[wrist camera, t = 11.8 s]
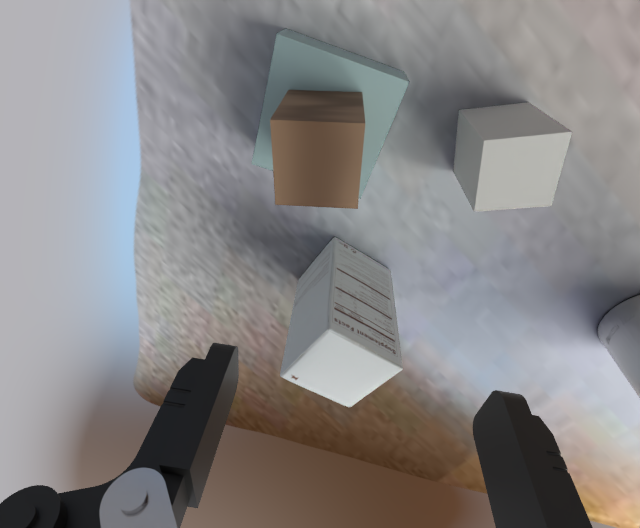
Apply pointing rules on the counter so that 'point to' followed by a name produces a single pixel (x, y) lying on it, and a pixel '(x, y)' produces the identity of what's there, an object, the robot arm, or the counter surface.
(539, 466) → the robot arm
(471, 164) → the grey block
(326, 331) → the supplement box
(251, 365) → the counter surface
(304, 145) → the walnut block
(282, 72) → the pedestal block
